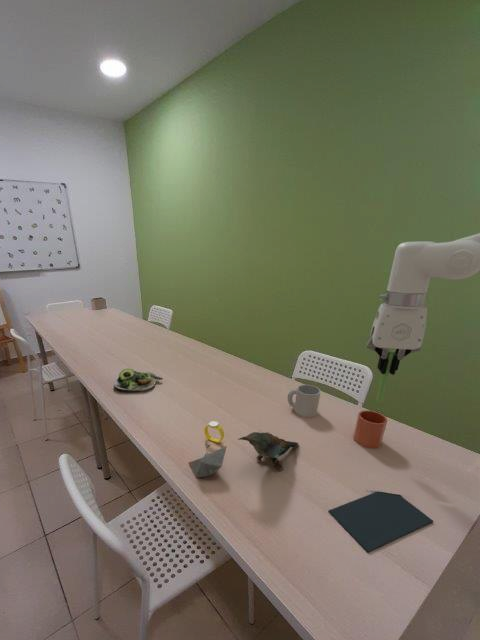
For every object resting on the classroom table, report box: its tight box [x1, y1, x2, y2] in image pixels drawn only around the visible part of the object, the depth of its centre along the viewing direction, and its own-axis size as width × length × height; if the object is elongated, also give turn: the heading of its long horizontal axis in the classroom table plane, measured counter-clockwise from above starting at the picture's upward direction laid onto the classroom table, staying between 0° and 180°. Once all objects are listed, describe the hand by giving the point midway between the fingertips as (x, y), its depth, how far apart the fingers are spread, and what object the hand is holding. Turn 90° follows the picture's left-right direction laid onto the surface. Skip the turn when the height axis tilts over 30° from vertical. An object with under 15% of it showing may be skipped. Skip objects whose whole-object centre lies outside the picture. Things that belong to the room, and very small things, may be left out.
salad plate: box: [113, 368, 164, 393], centre depth 125 cm, size 19×18×5 cm
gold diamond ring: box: [203, 420, 225, 444], centre depth 88 cm, size 6×3×6 cm, turn 57°
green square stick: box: [375, 350, 395, 403], centre depth 77 cm, size 1×1×14 cm
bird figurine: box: [237, 431, 300, 472], centre depth 78 cm, size 13×10×20 cm
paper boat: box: [188, 444, 228, 478], centre depth 77 cm, size 12×6×9 cm
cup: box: [287, 384, 321, 418], centre depth 100 cm, size 7×10×9 cm
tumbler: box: [352, 409, 388, 449], centre depth 85 cm, size 7×7×8 cm
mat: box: [328, 490, 434, 554], centre depth 63 cm, size 18×10×1 cm, turn 110°
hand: (386, 371), depth 76 cm, fingers closed on green square stick, 1 cm apart
